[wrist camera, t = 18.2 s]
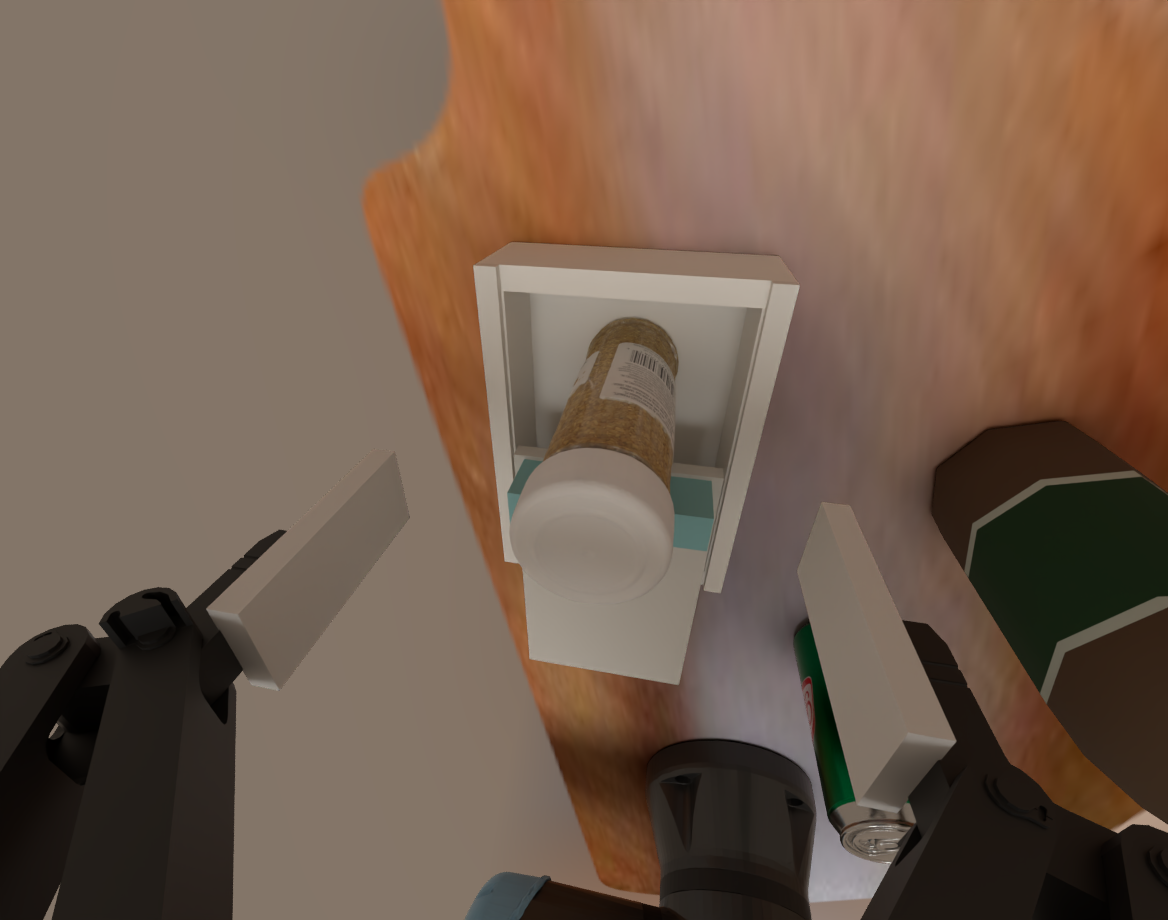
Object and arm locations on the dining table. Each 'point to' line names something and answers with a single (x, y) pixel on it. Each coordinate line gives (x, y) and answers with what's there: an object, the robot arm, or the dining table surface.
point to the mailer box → (656, 294)
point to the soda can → (843, 769)
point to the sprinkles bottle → (606, 474)
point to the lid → (640, 626)
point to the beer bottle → (1072, 585)
